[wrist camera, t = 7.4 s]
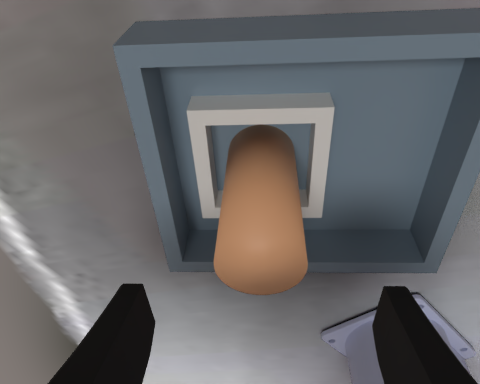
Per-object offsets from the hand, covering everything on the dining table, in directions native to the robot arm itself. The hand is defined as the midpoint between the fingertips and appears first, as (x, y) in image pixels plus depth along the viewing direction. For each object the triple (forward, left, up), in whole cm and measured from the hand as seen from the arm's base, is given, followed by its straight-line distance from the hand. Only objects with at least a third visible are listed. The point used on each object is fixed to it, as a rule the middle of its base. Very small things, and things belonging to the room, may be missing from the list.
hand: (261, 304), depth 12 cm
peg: (0, 0, -9) cm, 9 cm away
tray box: (-1, -2, -9) cm, 9 cm away
